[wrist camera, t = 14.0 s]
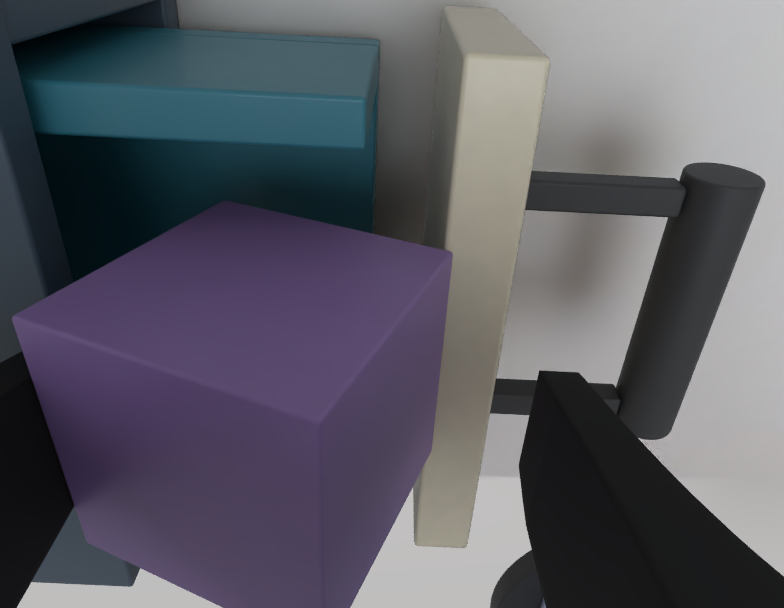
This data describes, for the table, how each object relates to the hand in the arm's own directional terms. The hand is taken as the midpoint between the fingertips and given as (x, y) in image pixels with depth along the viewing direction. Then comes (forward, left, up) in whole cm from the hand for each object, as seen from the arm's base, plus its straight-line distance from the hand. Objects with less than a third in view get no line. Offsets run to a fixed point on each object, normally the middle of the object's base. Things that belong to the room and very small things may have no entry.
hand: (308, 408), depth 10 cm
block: (0, 0, -2) cm, 2 cm away
